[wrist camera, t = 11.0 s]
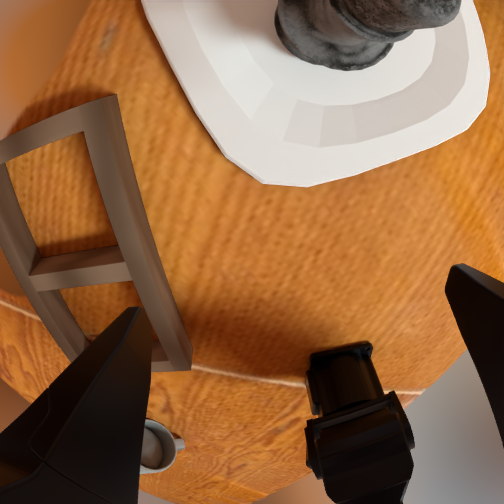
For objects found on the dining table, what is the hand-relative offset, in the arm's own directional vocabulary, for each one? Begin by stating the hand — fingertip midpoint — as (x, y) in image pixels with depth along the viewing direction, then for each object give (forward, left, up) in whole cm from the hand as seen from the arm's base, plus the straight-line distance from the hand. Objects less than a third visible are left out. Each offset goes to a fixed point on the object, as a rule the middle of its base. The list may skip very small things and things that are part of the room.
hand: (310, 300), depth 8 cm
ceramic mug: (+20, +34, -13) cm, 41 cm away
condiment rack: (+14, +5, -13) cm, 20 cm away
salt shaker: (-4, -9, -12) cm, 15 cm away
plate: (-6, -10, -14) cm, 18 cm away
